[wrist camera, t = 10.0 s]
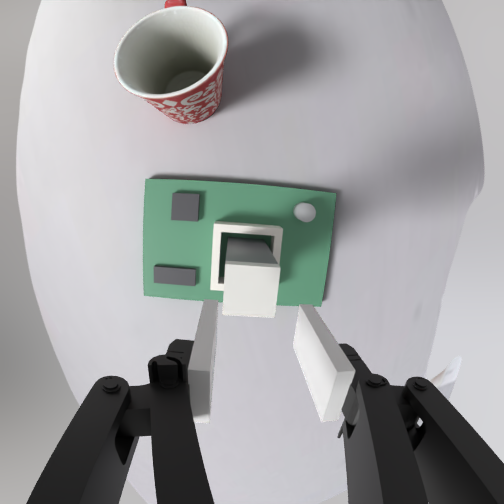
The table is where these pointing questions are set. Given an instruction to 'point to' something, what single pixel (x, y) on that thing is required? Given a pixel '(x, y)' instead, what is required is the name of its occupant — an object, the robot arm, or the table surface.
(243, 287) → the plug
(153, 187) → the board
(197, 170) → the table surface
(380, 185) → the table surface
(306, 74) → the table surface
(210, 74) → the mug
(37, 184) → the table surface
